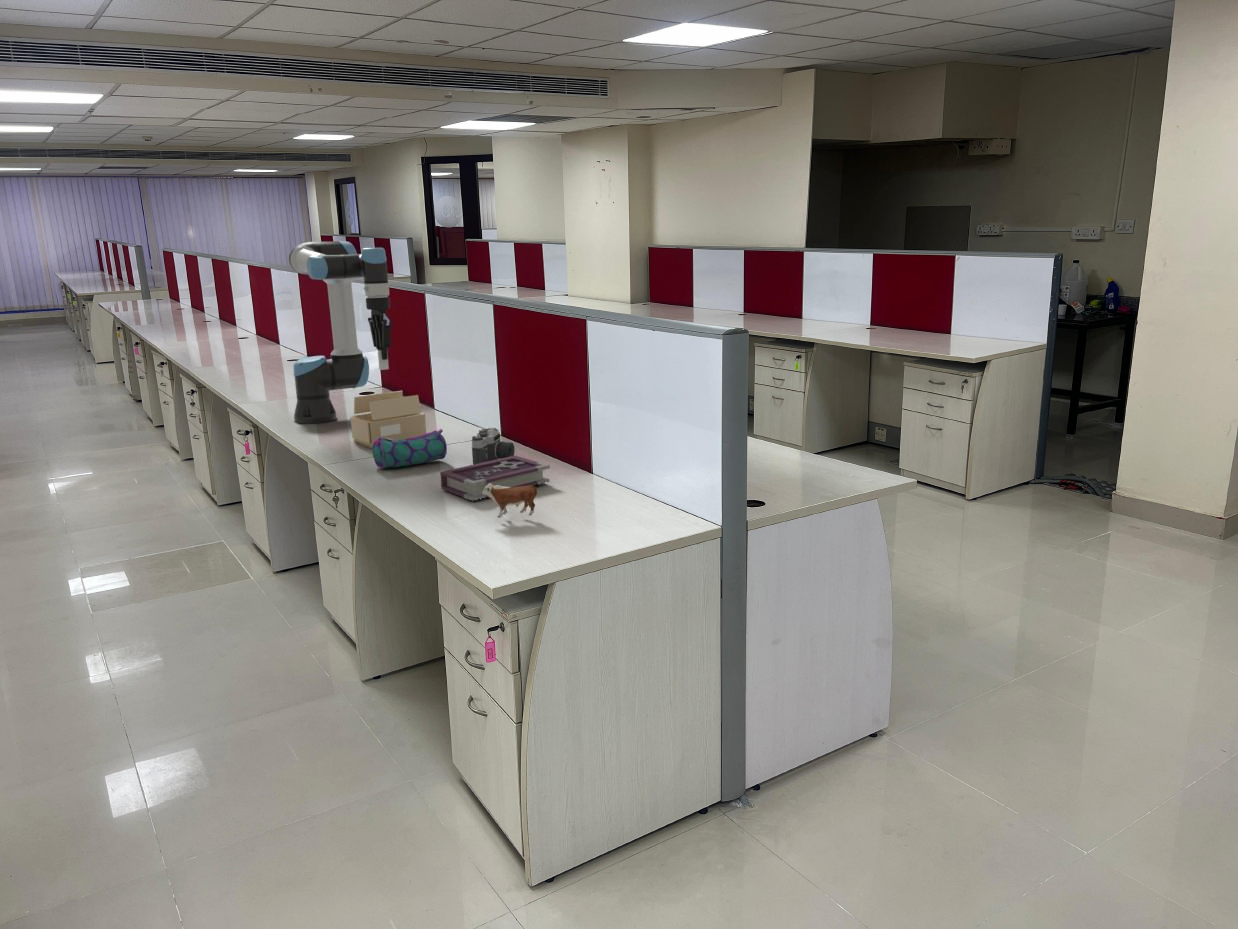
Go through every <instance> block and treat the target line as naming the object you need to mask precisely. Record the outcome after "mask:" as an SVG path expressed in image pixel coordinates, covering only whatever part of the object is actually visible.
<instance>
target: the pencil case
mask: <svg viewBox="0 0 1238 929" xmlns="http://www.w3.org/2000/svg"><path fill="white" fill-rule="evenodd" d="M442 433H443V429H442V428H440V429H438V430H433V431H431V432H426V434H425V435H422V436H418V437H414V438H408V439H401V440H393V439H388V438H385V437H382V438H379V439H377V440H376V441H375V442H374V444H373V446H372V449H371V452H372V456H373V460H374V462H375V465H376V466H377V467H378V469H379V470H383V469H391V468H399V467H401V468H402V467H410V466H414V465H415V466H416V465H420V464H421V465H422V464H424V463H430V462H434V461H437V460H444V458H445V457H446V455H447V453H448V452H447V451H448V448H447V446H448V445H447V442H446V439H445V437H444V435H442Z"/></svg>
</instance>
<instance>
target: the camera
mask: <svg viewBox="0 0 1238 929" xmlns="http://www.w3.org/2000/svg"><path fill="white" fill-rule="evenodd" d="M499 431H500V430H499V429H498V428H496V427H493V426H492V427H491V426H490V427H488V428H481V429H479V430H478V433H477V434H476V435H473V436H471V454H472V455H471V456H472V465H474V464H479V463H483V462H488V461H492V460H497V459H501V458H506V457H511V456H515V444H514V442H511V441H507V442H506V441H501V433H500V432H499Z"/></svg>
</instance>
